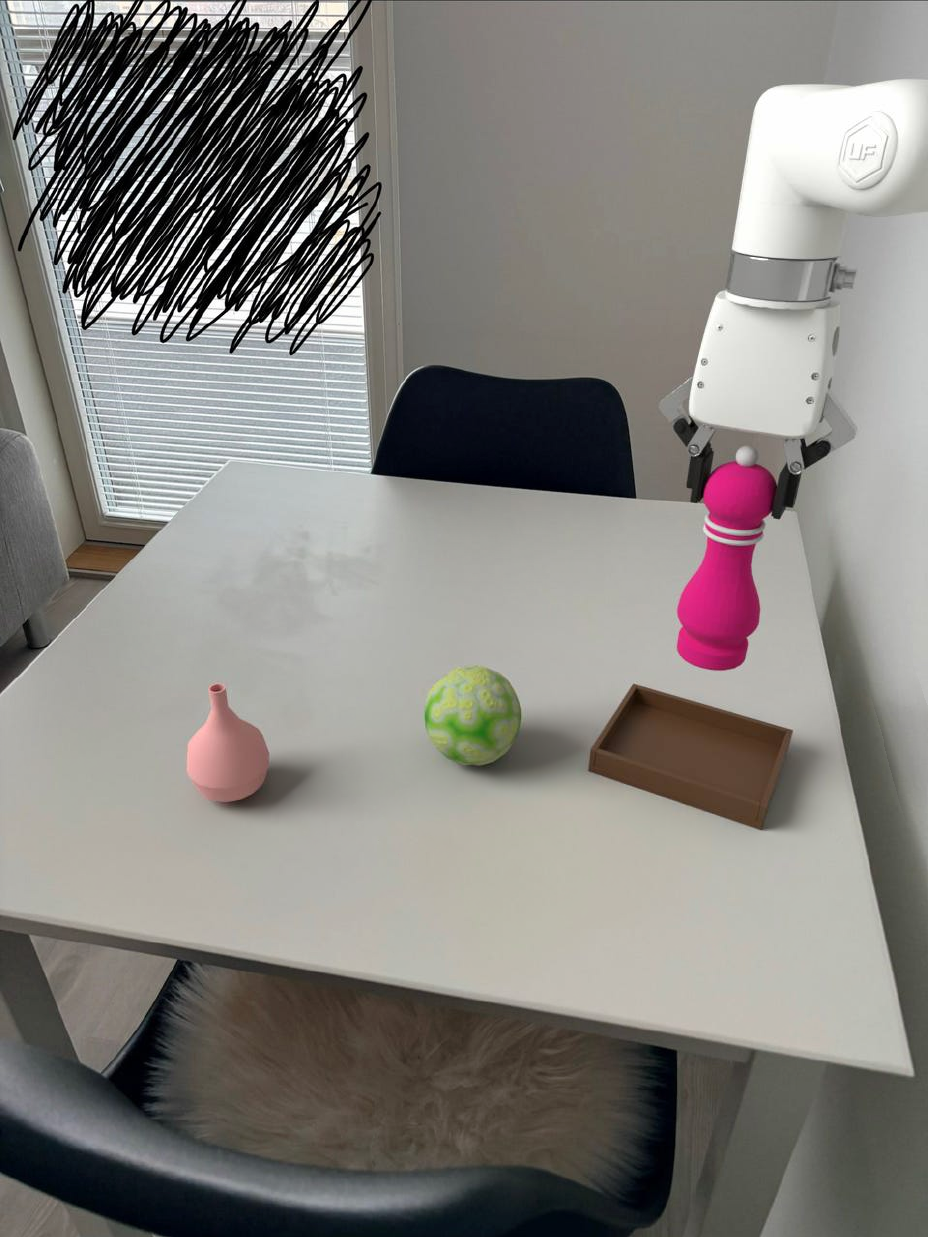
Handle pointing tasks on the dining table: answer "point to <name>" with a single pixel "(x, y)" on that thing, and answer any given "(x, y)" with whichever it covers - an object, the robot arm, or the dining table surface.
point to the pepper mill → (726, 566)
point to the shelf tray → (693, 754)
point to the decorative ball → (472, 715)
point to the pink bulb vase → (226, 753)
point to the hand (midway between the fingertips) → (738, 503)
